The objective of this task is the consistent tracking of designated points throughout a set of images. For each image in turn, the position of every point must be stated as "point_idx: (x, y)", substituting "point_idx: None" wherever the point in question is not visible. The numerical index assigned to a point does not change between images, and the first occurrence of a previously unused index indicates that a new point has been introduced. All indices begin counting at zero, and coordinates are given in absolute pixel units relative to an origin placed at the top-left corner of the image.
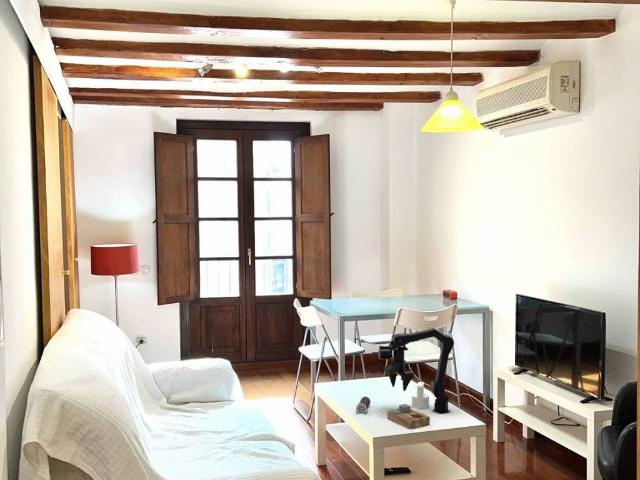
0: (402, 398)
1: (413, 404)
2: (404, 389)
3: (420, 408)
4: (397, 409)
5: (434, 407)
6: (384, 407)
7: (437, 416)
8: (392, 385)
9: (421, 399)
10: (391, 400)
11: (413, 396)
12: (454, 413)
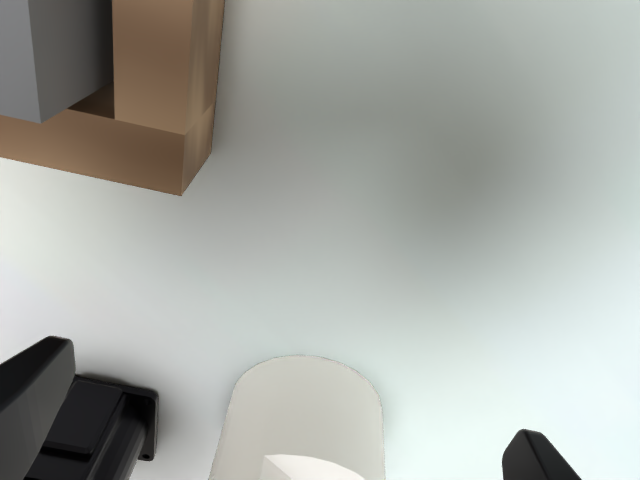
0: None
1: (326, 385)
2: (10, 371)
3: (254, 371)
4: (172, 3)
5: (107, 410)
6: (595, 194)
7: (7, 311)
8: (539, 456)
9: (227, 452)
10: (635, 398)
11: (324, 463)
12: None
